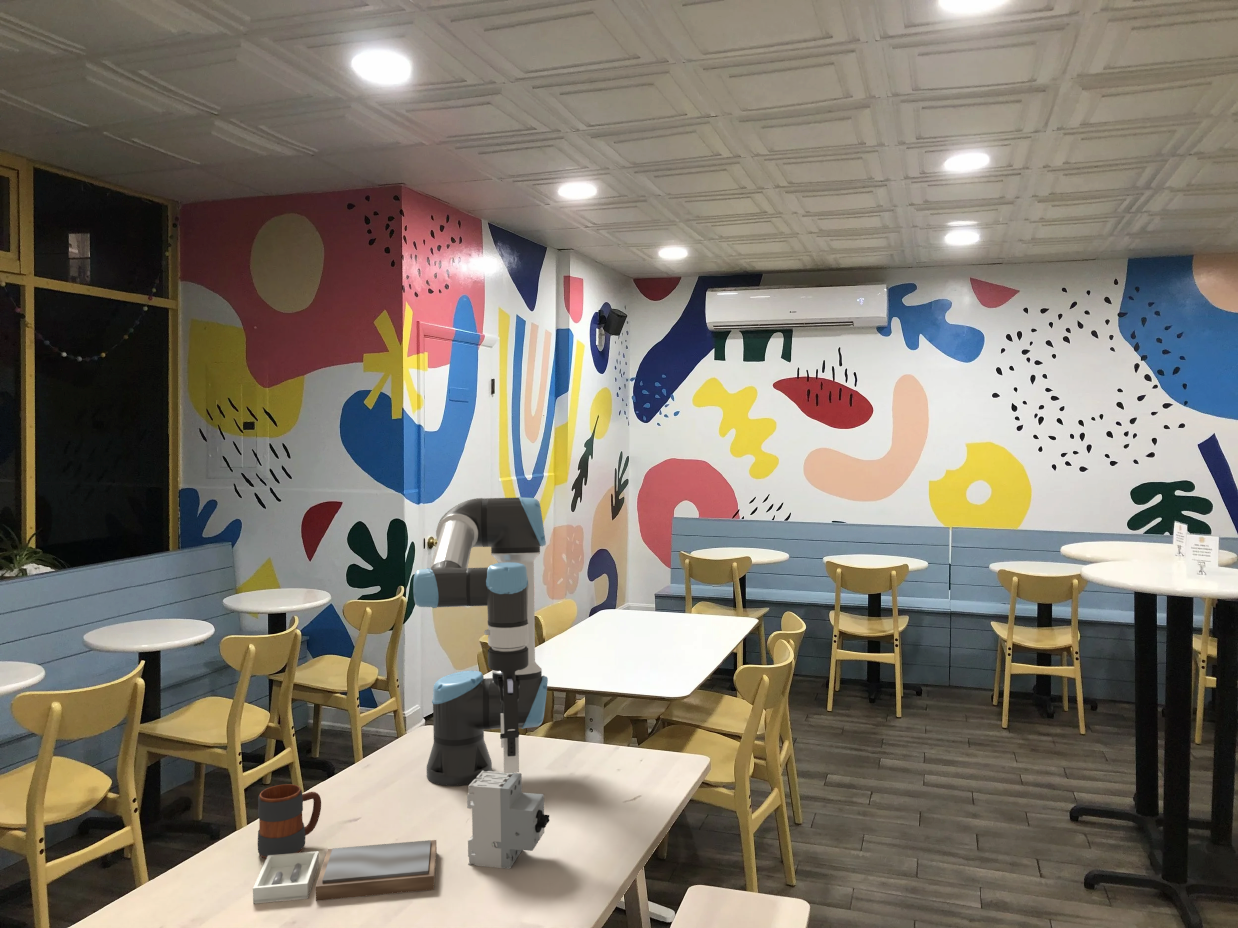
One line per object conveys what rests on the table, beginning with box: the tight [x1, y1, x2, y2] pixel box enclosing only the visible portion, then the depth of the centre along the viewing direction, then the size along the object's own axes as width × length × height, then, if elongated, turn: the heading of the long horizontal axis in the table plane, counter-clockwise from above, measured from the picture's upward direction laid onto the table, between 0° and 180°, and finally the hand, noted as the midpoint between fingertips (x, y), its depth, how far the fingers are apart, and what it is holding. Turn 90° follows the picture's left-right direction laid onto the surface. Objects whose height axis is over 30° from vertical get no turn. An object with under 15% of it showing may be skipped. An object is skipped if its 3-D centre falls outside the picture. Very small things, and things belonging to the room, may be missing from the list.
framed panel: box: [315, 839, 438, 902], centre depth 164 cm, size 14×20×3 cm
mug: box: [257, 783, 322, 860], centre depth 175 cm, size 9×12×12 cm
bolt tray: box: [252, 850, 320, 904], centre depth 161 cm, size 12×9×3 cm
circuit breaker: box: [466, 770, 550, 870], centre depth 170 cm, size 8×14×15 cm, turn 78°
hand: (509, 758), depth 169 cm, fingers open, 13 cm apart
